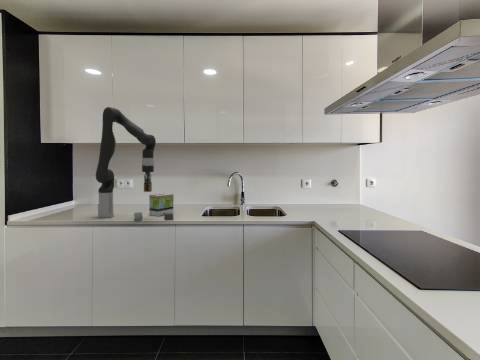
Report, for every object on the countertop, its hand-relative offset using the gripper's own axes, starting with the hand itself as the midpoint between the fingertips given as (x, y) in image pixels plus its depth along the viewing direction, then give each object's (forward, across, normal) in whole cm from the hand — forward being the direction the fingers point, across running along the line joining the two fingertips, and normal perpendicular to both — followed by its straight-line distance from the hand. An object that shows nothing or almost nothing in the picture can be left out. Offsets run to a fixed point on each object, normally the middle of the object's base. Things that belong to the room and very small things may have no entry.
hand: (147, 190), depth 201 cm
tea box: (+20, -18, +7) cm, 28 cm away
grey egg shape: (+20, +2, -6) cm, 21 cm away
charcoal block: (+20, +1, +14) cm, 24 cm away
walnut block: (+1, 0, 0) cm, 1 cm away
